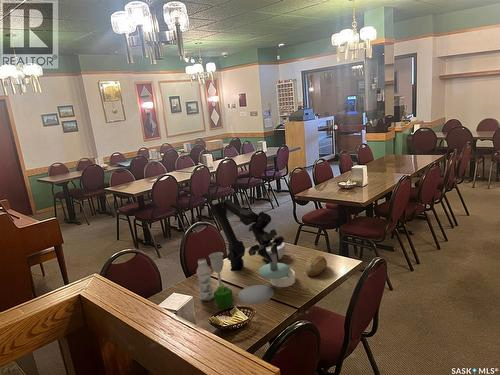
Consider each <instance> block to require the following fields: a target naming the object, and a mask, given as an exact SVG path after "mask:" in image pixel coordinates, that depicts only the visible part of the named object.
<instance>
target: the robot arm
mask: <svg viewBox="0 0 500 375" xmlns="http://www.w3.org/2000/svg"><path fill="white" fill-rule="evenodd" d="M228 211H229V212H230V213H232V214H233V215H234V216H236V217H237V218H239V221H240V222H241V223H242V224H243V225H245V226H249V228H248V232H252V234H253V236H254V238H255V242H257V244H254V245H252V246H250V248H249V249H248V255H249V257H252V256H255V255H258V256H260V257H261V256H262V257H261V258H263V259H264V260H266V259H267V260H266V261H268V262H269V263H270V262H272V260H271V258H270V256H269V254H268V253H267V250H266V248H267V247H271V249H270V250H271V252H272V253H276V256H277V261H278V259H279V257H278V251H277V246H280V245H281V244H282V243H284V241H285V238H284V237H283V236H281V235H280V236H278V233H277V231H276V229H275V228H273V229H271V230H270V232H268V231H266V230H265V229H266V228H267V226H269V224H270V223H271V222H272V216H271V215H270V214H268V213H266V212H264V211H263V210H262V211H261V212H259V213H258V214H257V213H256V212H255V211H253V210H250V209H245V208H243V207H241V206H239V205H238V204H236V203H235V202H233V201H232V200H231V199H229V198H225V199H223V200H221V201H219V202H216V203H213V204H211V205H210V212H211V214H212V216H213V217H215V219H217V220H218V223H219V224H220V226H221V229H222V231H223V233H224V235H225V238H226V240H227V242H228V248H227V249H228V251H229V252H228V254H227V255H226V259H227V260H228V261H230V267H231V268H230V271H242V270H243V269H244V267H245V261H244V259H243V257H245V253H246V247H245V245H244V243H243V241H242V240H241V241H240V240H239V239H238V238H237V236H236V234H235V232H234V229H233V228H232V227H233V226H232V224H231V223H230V221H229V218H228V216H227V213H228ZM271 241H272V242H271ZM256 253H257V254H256ZM279 260H280V259H279Z"/></svg>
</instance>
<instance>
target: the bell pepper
mask: <svg viewBox="0 0 500 375" xmlns="http://www.w3.org/2000/svg"><path fill="white" fill-rule="evenodd" d="M224 285H225V283H223V284H222V285H221V287H219V288H218V289H217V288H216V290H215V291H214V297H213V299H214V301H215V303H216V306H217V308H219V309H225V308H230V307H231V306H232V302H233V297H234V296H233V291H232V289H231V288H229V287H228V286H226V285H225V287H224Z"/></svg>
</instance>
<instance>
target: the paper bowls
mask: <svg viewBox="0 0 500 375" xmlns="http://www.w3.org/2000/svg"><path fill="white" fill-rule="evenodd" d="M272 241H273V240H272ZM272 241H271V242H272ZM270 249H271V247H267V248H266V250H267V253H268V254H270V253H272V252H271V250H270ZM277 251H278V257H279V259H278V260H280V259H282V258H283V256H284V255H285V254H286V252H287V251H286V243H285V242H283V243H282V244H281V245H280V246H277ZM260 257H261V258H263V257H262V256H260ZM265 260H266V261H268V260H267V259H265ZM278 260H277V261H278Z"/></svg>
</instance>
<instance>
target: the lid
mask: <svg viewBox="0 0 500 375" xmlns="http://www.w3.org/2000/svg"><path fill="white" fill-rule="evenodd" d="M269 256H270V258H271V260H272V262H269V263H267V264H264V265H263V266H260V268H259V270H258V273H259V277H262V278H264V279H267V280H268V279H269V280H270V279H277V278H282V277H284V276H286V275H288V274H289V272H290V269H291V268H290V266H289V265H288V264H286V263H282V262H278V260H277V256H276V253H270V254H269Z"/></svg>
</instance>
